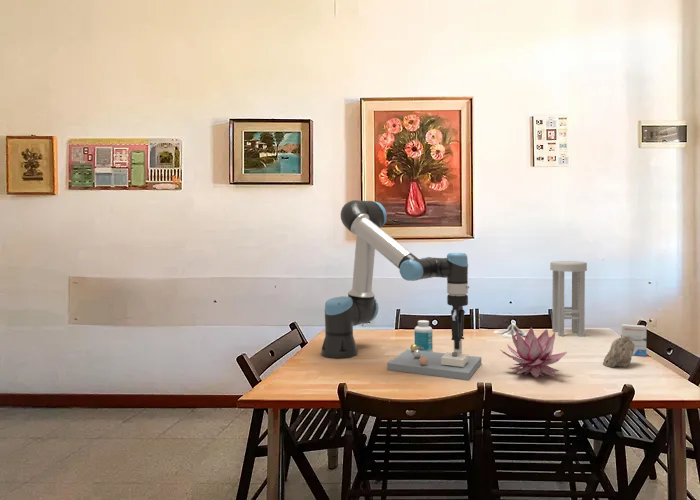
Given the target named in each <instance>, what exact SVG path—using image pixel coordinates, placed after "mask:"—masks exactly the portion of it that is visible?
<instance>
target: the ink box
mask: <svg viewBox="0 0 700 500" xmlns="http://www.w3.org/2000/svg"><path fill="white" fill-rule="evenodd" d="M620 332H621V333H620V337H622V336H628V337H629V338H630V340H632V342H633V343H634V345H635V346H634V351H633V354H632V356H633V357H634V356H636V357H647V335H648V334H647V332H648V331H647V327H646V326H645V325H641V324H640V325H638V324H625V323H621V325H620Z"/></svg>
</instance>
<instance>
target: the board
mask: <svg viewBox="0 0 700 500" xmlns="http://www.w3.org/2000/svg"><path fill="white" fill-rule="evenodd" d="M446 353H447V352H436V351H432V352H428V351H421V354H422V355H421V357H422V356H425V357H426V358H427V359H428V363H427V364H426V365H421V364H420V363H419V358H415V357H414V356H413V352H412V351H411V349H410V348H407V349H405V350H404V351H403V352H401V353H400V354H398V355H397V356H395V357H394V358H393V359H391V360H389V361H388V362H387V363H386V368H387V369H386V370H387V371H393V372H402V373H403V372H404V373H409V374H415V375H416V374H418V375H425V376H433V377H439V376H440V378H449V379H455V380H457V379H458V380H462V381H464V380H465V381H470V379H471V378H472V376H474V374H475V373H476V371H477V370H478V369H479V368H480V366H481V365H482V356H473V355H468V362H467V363H466V364H465V365H464V367H459V366H450V365H442V364H441V357H442V356H443V355H444V354H446Z"/></svg>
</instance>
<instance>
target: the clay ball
mask: <svg viewBox="0 0 700 500" xmlns="http://www.w3.org/2000/svg"><path fill="white" fill-rule="evenodd" d="M419 363H420V364H421V365H426V364H427V363H428V359H427V358H426V357H425V356H422V357H420V358H419Z"/></svg>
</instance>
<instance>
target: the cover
mask: <svg viewBox="0 0 700 500" xmlns="http://www.w3.org/2000/svg"><path fill="white" fill-rule="evenodd" d="M445 353H446V354H444V355H443V356H442V357H441V364H442V365H450V366H459V367H464V365H465V364H466V363H467V362H468V356H469V354H466V353H462V354H458V353H457V352H454V351H452V352H445Z"/></svg>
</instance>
